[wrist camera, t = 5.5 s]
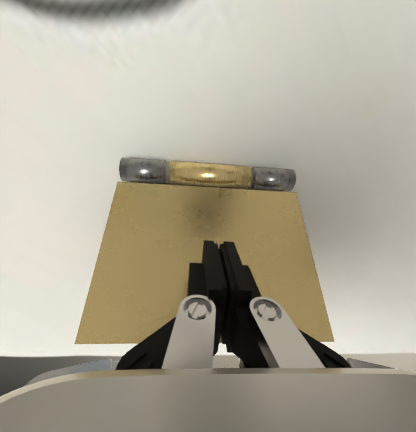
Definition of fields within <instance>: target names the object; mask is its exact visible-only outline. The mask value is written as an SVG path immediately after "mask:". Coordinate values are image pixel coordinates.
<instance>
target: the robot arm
mask: <svg viewBox="0 0 416 432" xmlns="http://www.w3.org/2000/svg"><path fill="white" fill-rule="evenodd" d="M220 336H221V340H222V344H226V347H227V352H233V353H234V354H235V355H236V356H238V364H239V368H212V365H213V356H214V355H215V354H216V353H217V351H218V345H219V342H220ZM0 432H416V370H407V369H406V370H405V369H395V368H390V367H386V366H382V365H377V364H373V363H368V362H364V361H360V360H355V359H351V358H348V359H347V361H346V360H345V359H344V358H343V357H342V356H340V355H339V354H338V353H336V352H335V351H333V350H332V349H330V348H328V347H327V346H325V345H324V344H322V343H320V342H319V341H317V340H316V339H314V338H312V337H311V336H309V335H308V334H306V333H304V332H303V331H301V330H299V329H298V328H297V327H296V325H295V324H294V323H293V321H292V320H291V318H290V317H289V315H288V314H287V313H286V311H285V310H284V308H283V307H282V306H281V305H280V304H279V303H278V302H276V301H275V300H273V299H271V298H267V297H262V296H261V294H260V291H259V289H258V287H257V284H256V282H255V279H254V277H253V275H252V272H251V270H250V268H249V266H248V265H242V262H241V260H240V257H239V254H238V252H237V249H236V246H235V244H234V242H228V241H224V242H223V244H220V246H219V248H218V244H217V243H214V241H210V240H204V244H203V254H202V263H189V276H188V294H187V297H186V298H185V299H184V300H182V302H181V304H180V306H179V309H178V313H177V316H176V317H174V318H173V319H172V320H170V321H169V322H168V323H166V324H165V325H163V326H162V327H161V328H159V329H158V330H157V331H155V332H154V333H153V334H151V335H150V336H148V337H147V338H146V339H144V340H143V341H142V342H140V343H139V344H138V345H136V346H135V347H133V348H132V349H131V350H129V351H128V352H127V353H126V354H125V355H124V356H123V357H122V358H121V359H118V360H114V361H112V359H111V358H108V359H103V360H99V361H94V362H89V363H85V364H80V365H76V366H71V367H67V368H62V369H58V370H53V371H49V372H46V373H43V374H41V375H39V376H37V377H35V378H34V379H32V380H31V381H29V382H28V383H27V384H26V385H25V386H24V387H22V388H20V389H17V390H15V391H12V392H10V393H8V394H5V395H3V396H1V397H0Z"/></svg>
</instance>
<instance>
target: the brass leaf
mask: <svg viewBox="0 0 416 432" xmlns="http://www.w3.org/2000/svg"><path fill="white" fill-rule="evenodd" d="M251 179H252V170H251V167H248V166H234V165H220V164H206V163H192V162H178V161H170V163H169V184H177V185H165V184H148V183H132V182H118V183H117V187H116V190H115V194H114V198H113V202H112V205H111V209H110V213H109V217H108V220H107V224H106V228H105V232H104V235H103V239H102V243H101V247H100V251H99V254H98V258H97V262H96V266H95V269H94V273H93V277H92V281H91V284H90V288H89V292H88V296H87V299H86V303H85V307H84V311H83V315H82V318H81V322H80V326H79V330H78V333H77V337H76V341H75V344H126V343H140V342H142V341H143V340H144V339H146V338H147V337H148V336H150V335H151V334H153V333H154V332H155V331H157V330H158V329H159V328H161V327H162V326H163V325H165V324H166V323H168V322H169V321H170V320H172V319H173V318H174V317H176V316H177V313H178V309H179V306H180V304H181V302H182V300H184V299H185V298H186V297H187V294H188V276H189V263H202V254H203V244H204V240H210V241H214V243H217V244H218V248H219V246H220V244H223V242H224V241H228V242H234V244H235V246H236V249H237V252H238V254H239V257H240V260H241V262H242V265H248V266H249V268H250V270H251V272H252V275H253V277H254V279H255V282H256V284H257V287H258V289H259V291H260V294H261V296H262V297H267V298H271V299H273V300H275V301H276V302H278V303H279V304H280V305H281V306H282V307H283V308H284V310H285V311H286V313H287V314H288V315H289V317H290V318H291V320H292V321H293V323H294V324H295V325H296V327H297V328H298V329H299V330H301V331H303V332H304V333H306V334H308V335H309V336H311V337H312V338H314V339H316V340H317V341H319V342H334V338H333V334H332V330H331V327H330V323H329V319H328V315H327V311H326V307H325V303H324V299H323V295H322V291H321V287H320V283H319V280H318V276H317V272H316V268H315V264H314V260H313V256H312V252H311V248H310V244H309V240H308V236H307V233H306V229H305V225H304V221H303V217H302V213H301V209H300V205H299V201H298V197H297V193H296V192H279V191H263V190H247V189H248V188H249V187H250V184H251ZM181 185H194V186H181ZM198 186H210V187H198ZM214 187H226V188H214ZM230 188H243V189H230ZM219 343H222V340H221V336H220V342H219Z"/></svg>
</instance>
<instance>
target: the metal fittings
mask: <svg viewBox="0 0 416 432" xmlns="http://www.w3.org/2000/svg"><path fill="white" fill-rule="evenodd" d="M119 172H120V177H121V180H122V181H129V182H145V183H161V184H165V182H166V161H164V160H150V159H136V158H121V160H120V165H119ZM295 182H296V174H295V171H294V170H290V169H276V168H262V167H253V169H252V179H251V184H250V187H251V189H259V190H275V191H291V190H292V189H293V188H294V185H295Z"/></svg>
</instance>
